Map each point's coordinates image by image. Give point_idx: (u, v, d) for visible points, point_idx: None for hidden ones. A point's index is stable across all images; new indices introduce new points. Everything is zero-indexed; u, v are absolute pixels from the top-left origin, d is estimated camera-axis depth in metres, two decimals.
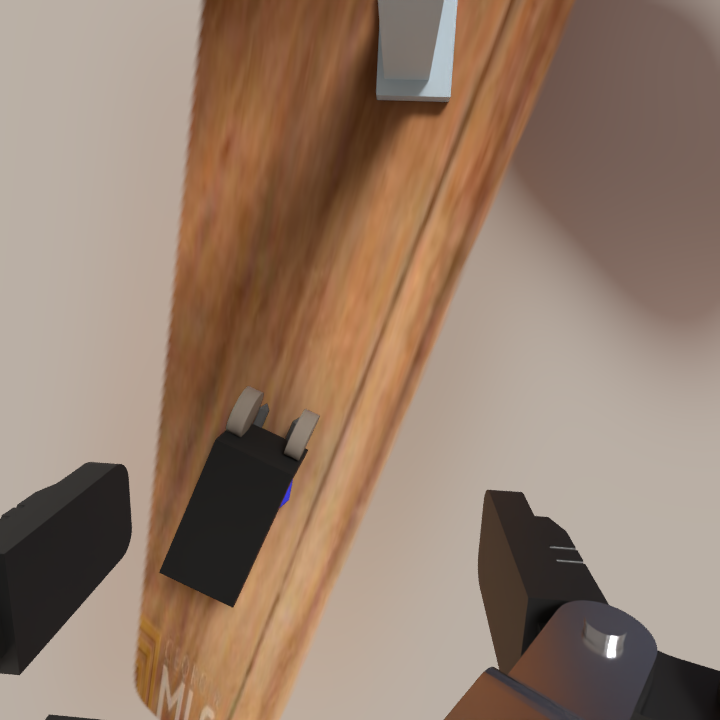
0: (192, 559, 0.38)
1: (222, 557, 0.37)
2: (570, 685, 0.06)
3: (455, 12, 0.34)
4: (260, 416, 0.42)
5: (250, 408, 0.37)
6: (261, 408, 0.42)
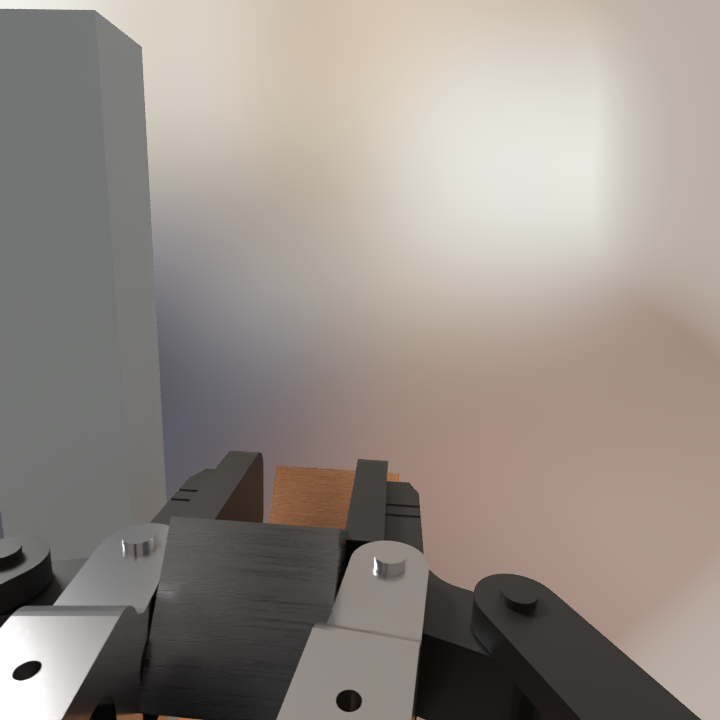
0: None
1: None
2: None
3: None
4: None
5: None
6: None
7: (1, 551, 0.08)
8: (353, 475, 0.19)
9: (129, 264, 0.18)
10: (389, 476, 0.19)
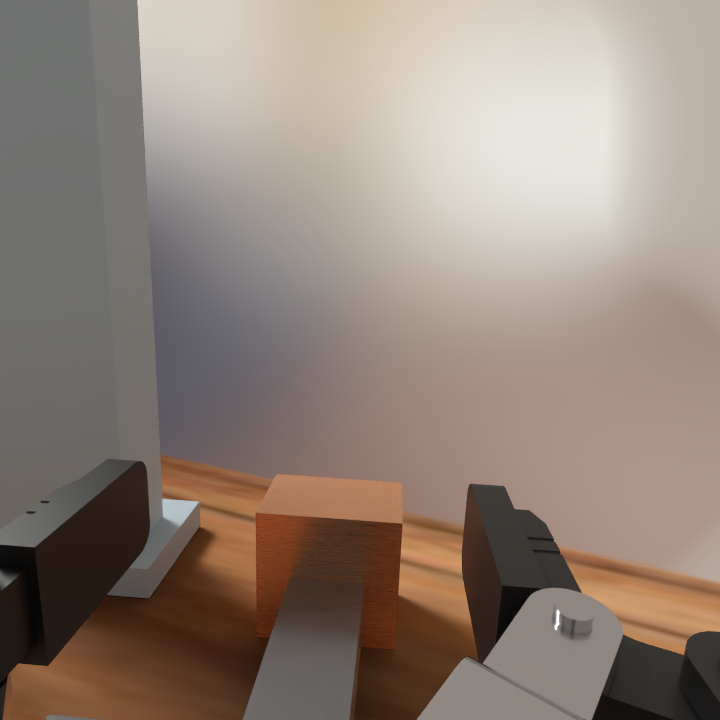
0: None
1: None
2: (535, 666, 0.06)
3: None
4: None
5: None
6: None
7: None
8: (348, 523, 0.16)
9: None
10: (390, 526, 0.16)
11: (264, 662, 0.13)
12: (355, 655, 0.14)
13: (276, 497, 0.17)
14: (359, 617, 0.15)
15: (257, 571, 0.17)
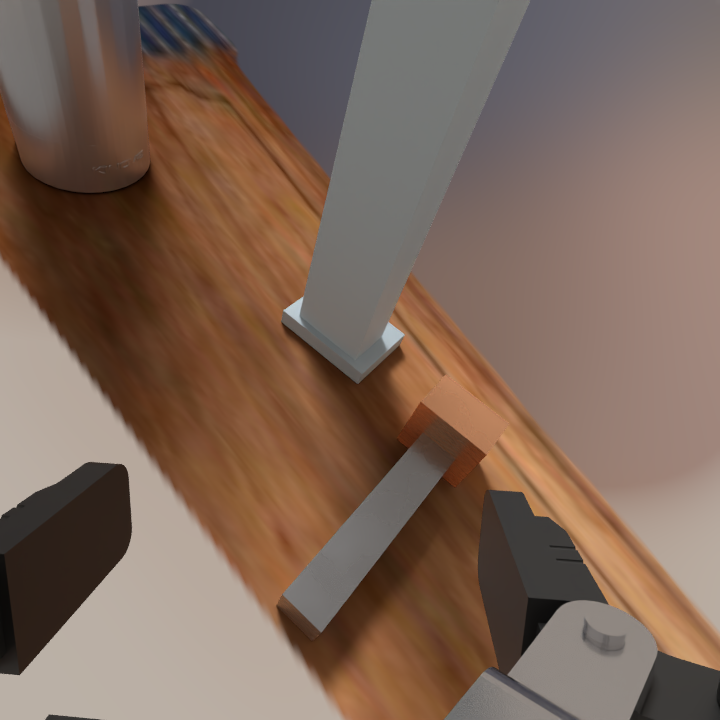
0: None
1: None
2: (570, 685, 0.06)
3: None
4: None
5: None
6: None
7: None
8: (461, 435, 0.29)
9: None
10: (480, 451, 0.29)
11: (390, 472, 0.29)
12: (427, 493, 0.29)
13: (436, 395, 0.30)
14: (441, 476, 0.29)
15: (409, 419, 0.31)
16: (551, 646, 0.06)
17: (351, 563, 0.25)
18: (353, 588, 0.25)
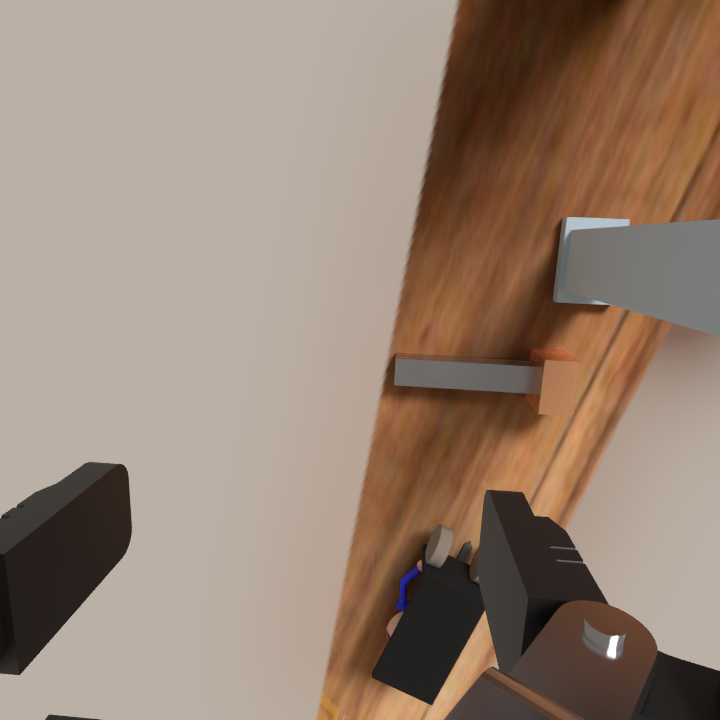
0: (400, 667, 0.47)
1: (425, 666, 0.46)
2: (570, 685, 0.06)
3: None
4: None
5: (449, 548, 0.46)
6: None
7: None
8: (540, 394, 0.43)
9: None
10: (538, 409, 0.43)
11: (494, 365, 0.45)
12: (498, 391, 0.45)
13: (557, 365, 0.42)
14: (514, 392, 0.45)
15: (539, 354, 0.44)
16: (551, 646, 0.06)
17: (432, 378, 0.45)
18: (421, 386, 0.45)
